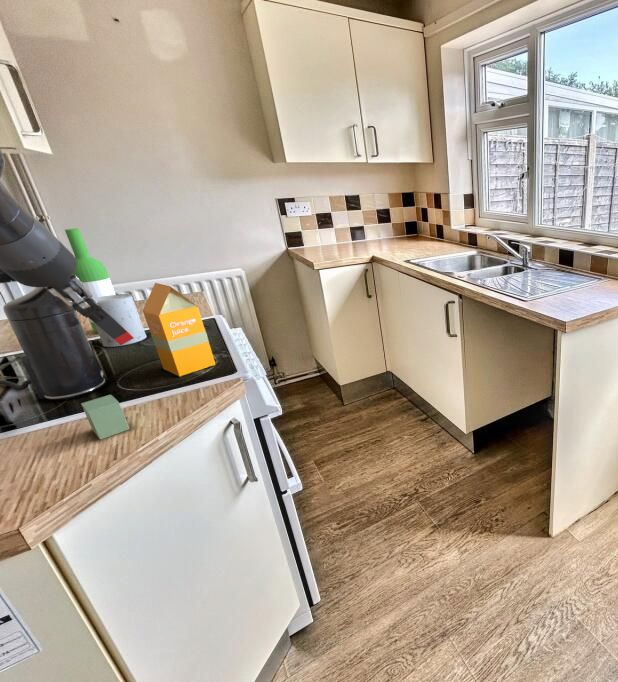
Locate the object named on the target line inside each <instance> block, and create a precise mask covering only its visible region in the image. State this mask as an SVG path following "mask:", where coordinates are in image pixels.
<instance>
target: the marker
mask: <svg viewBox="0 0 618 682" xmlns="http://www.w3.org/2000/svg"><path fill="white" fill-rule="evenodd" d="M97 304H98V303H97ZM98 305H99V304H98ZM102 309H103V308H102ZM103 310H104V309H103ZM104 311H105V310H104ZM105 312H106V311H105ZM106 313H107V312H106ZM107 314H108V313H107ZM88 318H89V317H88ZM88 318H87V319H88ZM92 321H93V320H92ZM93 322H94V321H93ZM94 323H95V324H97V325H98V326H99V327H100V328H101V329H102V330H104V331H105V332H106V333H107V334H108V335H109V336H111V337H112V338H113V339H114V340H115V341H116V342H118V343H119V344H120V345H122V346H124V345H123V344H124V343H126V342H128V341H130V340H132V339H133V338H134V337H133V336H132V335H131V334H130V333H129V332H128V331H127V330H126V329H125V328H123V327H122V326H121V325H120V324H119V323H118V322H117V321H116V320H115V319H114V318H113V317H112V316H111V315H110V314H108V317H107V318H105V319H103V320H101V321H99V322H94Z"/></svg>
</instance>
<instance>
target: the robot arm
mask: <svg viewBox="0 0 618 682" xmlns="http://www.w3.org/2000/svg"><path fill="white" fill-rule="evenodd" d="M5 168H6V159H5V157H4V153H3V152H2V149H1V148H0V284H8V283H15V282H17V283H19V284H21V285H23V286H26V287H29V288H34V289H32V290H31V291H30V292H27V293H26V294H24V295H21V296H19V297H17V298H15V299H12V300H10V301H8V302H6V303H5V304H4V305H3V307H2V309H3V313H4V314H5V316H6V319H7V321H8V323H9V325H10V327H11V329H12V331H13V333H14V335H15V337H16V339H17V341H18V343H19V345H20V347H21V349H22V352H23V353H24V354H23V355H21V356H20V361H21V363H22V365H23V367H24V369H25V371H26V373H27V375H28V377H29V378H28V379H26V380H24V381H23V382H22V383H21V384H18V383H16V382H13V381H9V380H3V379H0V385H2V386H7V387H11V388H13V389H15V390H19V391H20V390H22V391H23V390H26V389H28V388H29V385H32V387H33V389H34V390H35V392H36V393H37V395H38V398H39V400H46V401H49V402H53V401H54V402H55V401H65V400H71V399H75V398H79V397H82V396H85V395H89V394H91V393H94V392H96V391H98V390H100V389H102V388H103V387H105V386H106V385H107V381H106V379H105V377H104V371H103V369H101V368H100V365H99V363H98V361H97V357H96V356H95V354H94V352H93V349H92V347H91V344H90V342H89V339H88V337H87V334H86V332H85V330H84V327H83V326H82V323H81V321H80V318H79V316H78V313H79V314H80V315H81V316H82V317H84V318H87V319H88V317H89V318H90V319H91V320H93V321H94V322H99V321H101V320H103V319H105V318H107V317H108V314H107V313H106V312H105V311H104V310H103V309H102V307H101V306H100V305H98V304H97V302H96V301H94V300H93V299H92V296H93V295H92V294H91V293H90V292H89V291H88V290H87V289H86V288H85V287H84V286H83V283H82V282H81V281H80V280H79V279H78V278H77V277H76V276H75V275H74V274H73V272H74V271H75V269H76V266H77V262H76V258H75V255H74V253H72V252H71V251H70V250H69V249H68V248H67V247H66V246H65V245H64V244H63V243H62V242H61V241H60V240H59V239H58V237H56V236H55V235H54V234H53V233H52V232H51V230H50V229H48V228H47V227H46V225H45V224H43V223H42V222H41V221H39V220H38V219H37V218H35V217H34V216H33V215H32V214H31V213H30V212H29V211H28V210H26V208H25V207H24V206H23V205H21V203H20V202H18V200H17V199H16V198H15V197H14V196H13V195H12V194H11V193H10V192H9V190H8V189H7V188H6V186H5V185H4V183H3V181H2V180H1V179H2V177H3V175H4V172H5Z"/></svg>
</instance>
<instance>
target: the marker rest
mask: <svg viewBox="0 0 618 682" xmlns="http://www.w3.org/2000/svg"><path fill="white" fill-rule="evenodd" d="M80 405H81V408H82V409H83V412H84V414H85V417H86V419H87V421H88V423H89V425H90V427H91V430H92V431H93V432H94V434H95V435H96V436H97V438H98V439H99V440H103V439H107V438H109V437H112V436H115V435H117V434H120V433H122V432H126V431H128V430H130V429H131V428H130V426H129V423H128V421H127V419H126V416H125V414H124V411H123V408H122V406H121V404H120V402H119V401H118V400H117V398H115V397H114V396H113V395H112V394H108V395H105V396H101V397H98V398H94V399H91V400H88V401H85V402H82V403H80Z"/></svg>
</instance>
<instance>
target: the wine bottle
mask: <svg viewBox="0 0 618 682" xmlns="http://www.w3.org/2000/svg"><path fill="white" fill-rule="evenodd" d="M64 231H65V234H66V236H67V239H68V242H69V245H70V247H71V250H72V252H73V255H74V257H75V258H76V262H77V266H76V269H75V271H74V272H73V274H74V275H75V276H76V277H77V278H78V279H79V280H80V281H81V282H82V283H83V286H84V287H85V288H86V289H87V290H88V291H89V292H90V293H91V294H92V295H93V296H92V299H94V298H98V297H103V296H109V295H117V294H116V291H115V289H114V285H113V284H112V281H111V278H110V276H109V273H108V271H107V268H106V266H105V265H104V264H103V263H102V262H101V261H100V260H98V259H96V258H95V257H92V256H91V255H90V253H89V251H88V248H87V244H86V243H85V240H84V237H83V235H82V233H81V230H80V228H65V229H64ZM87 319H88V322H89V323H90V325H91V329H92V330H93V332H95V333H98V331H97V329H96V326H95V324H94V322H93V321H92V320H91V319H90V318H87Z"/></svg>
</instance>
